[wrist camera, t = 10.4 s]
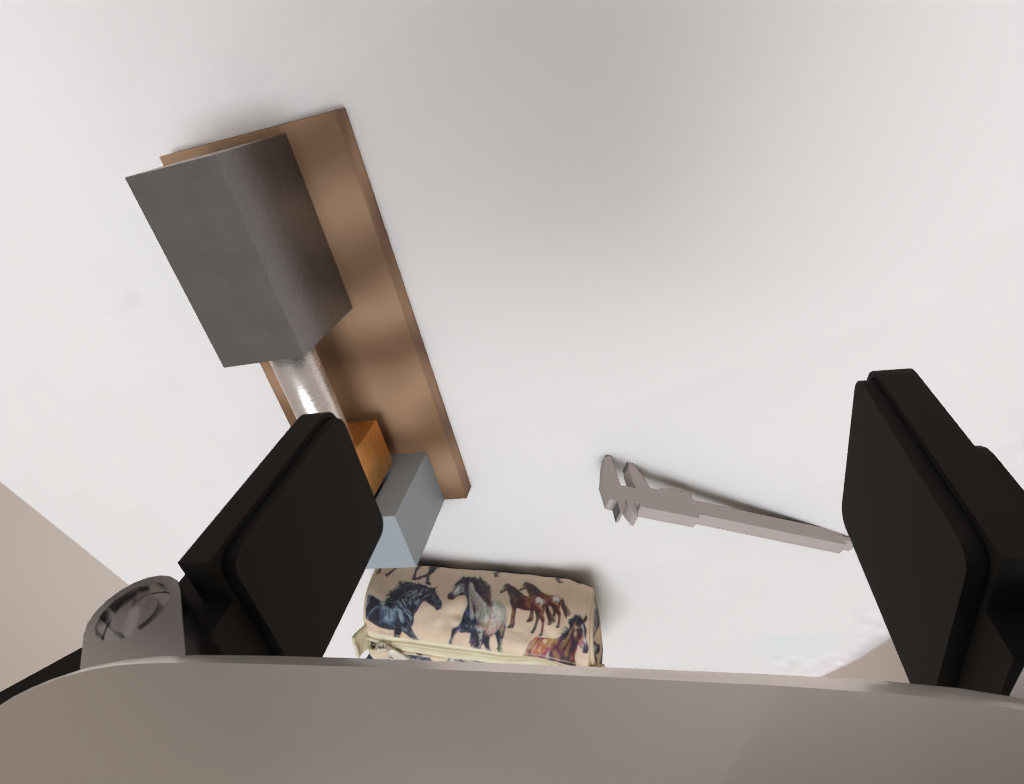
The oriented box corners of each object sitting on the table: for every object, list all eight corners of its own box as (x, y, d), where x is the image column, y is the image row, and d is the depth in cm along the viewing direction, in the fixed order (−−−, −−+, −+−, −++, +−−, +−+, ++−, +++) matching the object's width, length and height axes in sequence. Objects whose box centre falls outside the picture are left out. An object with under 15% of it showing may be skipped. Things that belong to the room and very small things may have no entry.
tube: (266, 294, 41) (214, 332, 36) (322, 284, 40) (276, 321, 35) (358, 499, 50) (327, 552, 45) (406, 496, 49) (380, 550, 44)
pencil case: (394, 600, 61) (356, 689, 53) (381, 539, 57) (337, 626, 48) (610, 626, 57) (606, 726, 49) (614, 563, 53) (610, 662, 45)
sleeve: (208, 153, 38) (124, 177, 32) (285, 132, 37) (214, 154, 30) (282, 319, 44) (223, 367, 38) (352, 307, 42) (303, 356, 36)
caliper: (600, 461, 48) (595, 517, 42) (605, 451, 47) (601, 506, 42) (848, 545, 47) (875, 611, 42) (857, 536, 47) (885, 601, 41)
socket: (328, 460, 50) (284, 522, 44) (426, 451, 48) (394, 516, 42) (349, 505, 53) (310, 570, 46) (444, 499, 50) (416, 567, 44)
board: (174, 152, 40) (159, 156, 39) (344, 107, 37) (334, 110, 36) (336, 495, 54) (329, 506, 53) (470, 486, 51) (466, 498, 50)
